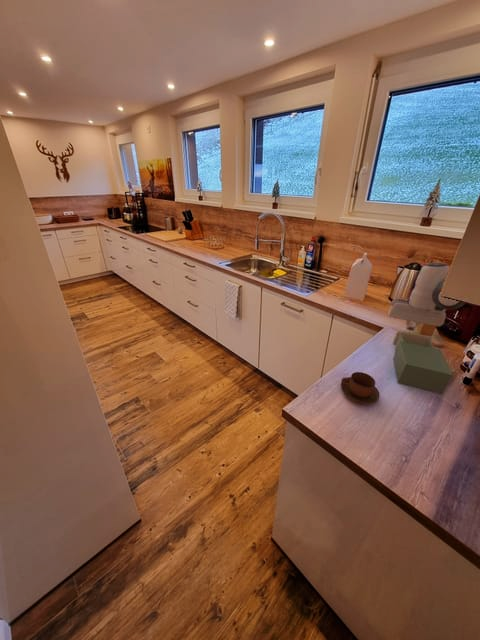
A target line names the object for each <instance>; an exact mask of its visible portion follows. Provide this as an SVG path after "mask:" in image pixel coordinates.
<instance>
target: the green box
mask: <svg viewBox="0 0 480 640" xmlns="http://www.w3.org/2000/svg"><path fill="white" fill-rule="evenodd" d="M392 360H393V361H392V362H393V365H394V370H395V371H394V372H395V376H396V380H397V384H399V385H403V386H407V387H411V388H414V389H415V388H416V389H419V390H423V391H426V392H430V393H435V394H438V395H443V394H444V392H445V391H446V389H447V387H448V385H449V383H450V382H451V380H452V378H453V376H454V373H453V372H452V370H451V367H450V366H449V364H448V361H447V359H446V358H445V355H444V354H443V351H442V349H439V348H435V347H434V348H430V347H426V346H421V345H416V344H411V343H406V342H401V341H400V342H399V345H398V348H397V350H396V349H395V353H394V356H393V358H392Z"/></svg>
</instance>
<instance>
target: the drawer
mask: <svg viewBox="0 0 480 640" xmlns="http://www.w3.org/2000/svg"><path fill="white" fill-rule="evenodd" d="M400 341H401V342H406V343H411V344H416V345H421V346H426V347H430V348H435V346H433V345H432V343H431V337H430V336H425V335H420V334H416V333H411V332H409V331H405V330H398V329H397V330H396V333H395V335H394V337H393V340H392V344H391V345H392V346H394V347H395V351H396V350H397V348H398V345H399V342H400Z"/></svg>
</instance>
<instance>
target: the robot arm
mask: <svg viewBox="0 0 480 640" xmlns="http://www.w3.org/2000/svg"><path fill="white" fill-rule="evenodd" d="M449 268H450V267H449V265H448V264H447V263H443V262H429V263H427V264H425V265H423V266H422V267H421V269H420V271H419V273H418V275H417V277H416V280H415V282H414V283H415V284H414V288H413V289H412V290H411V293H410V296H409V297H408V298H403V297H396V298H395V297H394V298H393V299H392V300H391V303H390V308H389V309H388V313H387V314H388V317H389V318H391V319H396V320H400V321H405V323H406V326H405V330H407V331H409V330H411V331H414V330H415V328H416V327H418V326H419V325H420V323H422V324H428V325H433V326H436V327H442V326H443V325H444V323H445V320H446V317H447V314H446V311H453V310H455V311H456V310H458V309H460V308H462V307H464V305H465V304H466V303H464V302H460V301H456V300H452V299H448V298H444V297H441V296H440V292H441V289H442V287H443V284H444V281H445V278H446V276H447V273H448V271H449ZM410 322H413V323H416V324H414V325H413V326H412V325H409V323H410Z"/></svg>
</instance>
